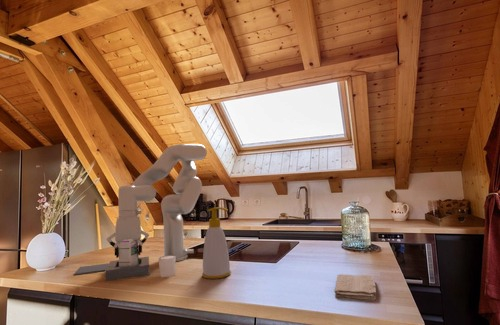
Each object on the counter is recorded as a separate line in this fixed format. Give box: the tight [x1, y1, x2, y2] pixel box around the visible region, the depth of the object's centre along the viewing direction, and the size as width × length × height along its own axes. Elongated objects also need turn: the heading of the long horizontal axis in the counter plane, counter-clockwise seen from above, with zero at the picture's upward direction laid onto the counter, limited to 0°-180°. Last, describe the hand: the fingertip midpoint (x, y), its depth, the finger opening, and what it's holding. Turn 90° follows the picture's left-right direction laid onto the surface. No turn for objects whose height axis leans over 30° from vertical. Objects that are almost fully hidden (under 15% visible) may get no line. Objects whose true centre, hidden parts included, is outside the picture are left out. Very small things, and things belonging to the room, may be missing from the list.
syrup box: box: [118, 239, 140, 267], centre depth 122 cm, size 6×6×14 cm
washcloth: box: [333, 273, 377, 302], centre depth 90 cm, size 12×18×3 cm, turn 161°
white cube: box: [157, 256, 177, 278], centre depth 115 cm, size 7×7×7 cm
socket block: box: [104, 256, 150, 282], centre depth 121 cm, size 16×16×4 cm
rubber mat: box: [73, 262, 110, 276], centre depth 129 cm, size 12×12×1 cm
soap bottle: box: [201, 206, 232, 280], centre depth 113 cm, size 11×12×26 cm
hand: (128, 255), depth 122 cm, fingers open, 8 cm apart
